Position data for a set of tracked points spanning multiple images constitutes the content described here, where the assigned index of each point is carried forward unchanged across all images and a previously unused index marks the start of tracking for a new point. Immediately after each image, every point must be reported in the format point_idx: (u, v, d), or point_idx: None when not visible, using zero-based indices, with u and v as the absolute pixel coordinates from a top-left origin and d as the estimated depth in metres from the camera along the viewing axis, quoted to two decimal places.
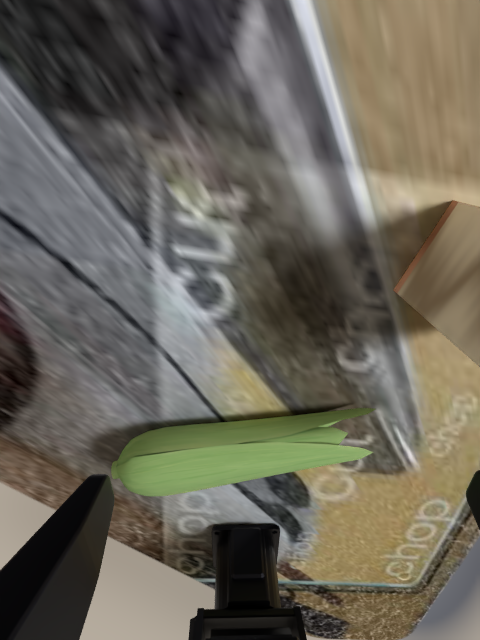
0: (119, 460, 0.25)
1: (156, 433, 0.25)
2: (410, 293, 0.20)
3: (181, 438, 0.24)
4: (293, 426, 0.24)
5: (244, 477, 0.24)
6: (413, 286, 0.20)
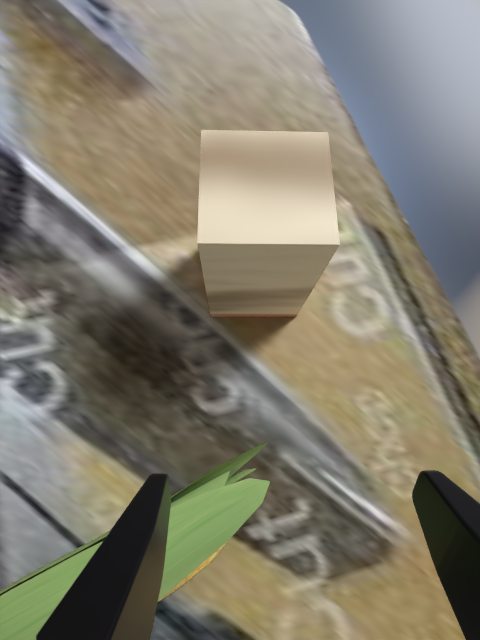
0: None
1: None
2: None
3: None
4: None
5: None
6: None
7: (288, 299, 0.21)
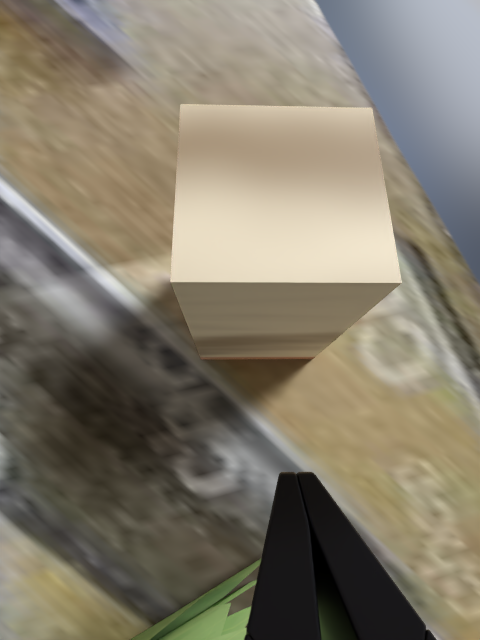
0: None
1: None
2: None
3: None
4: (140, 639, 0.13)
5: None
6: None
7: (306, 344, 0.15)
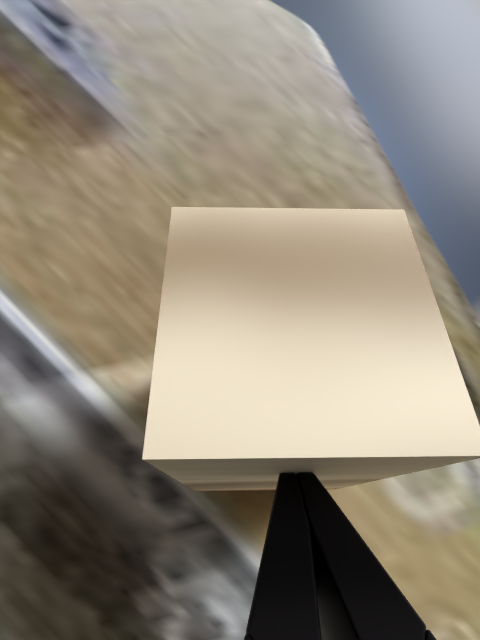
0: None
1: None
2: None
3: None
4: None
5: None
6: None
7: (330, 483, 0.12)
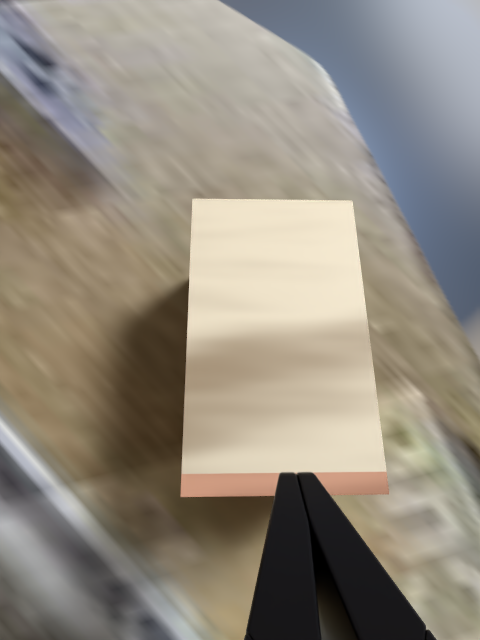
0: None
1: None
2: None
3: None
4: None
5: None
6: None
7: (341, 376, 0.11)
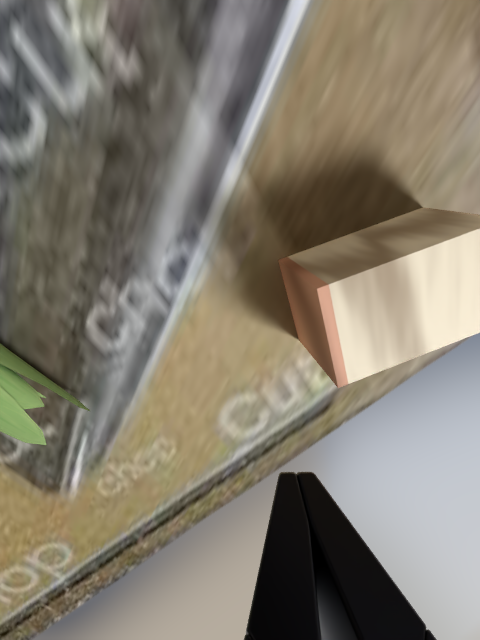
0: None
1: None
2: (345, 273, 0.17)
3: None
4: None
5: None
6: (338, 272, 0.17)
7: (392, 349, 0.18)
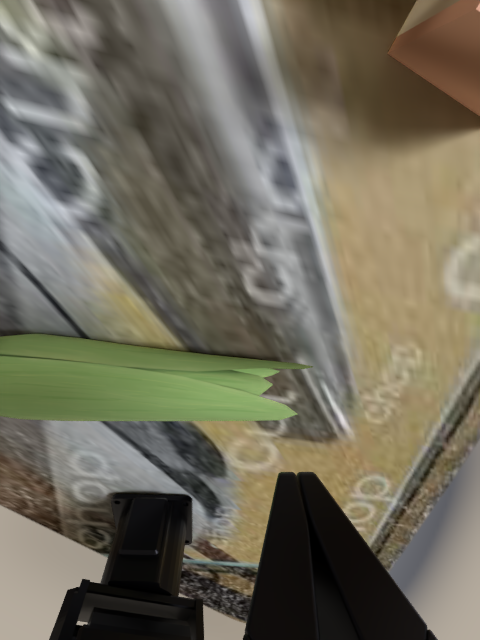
0: None
1: (27, 335, 0.19)
2: None
3: (57, 346, 0.18)
4: (208, 363, 0.19)
5: (130, 413, 0.18)
6: None
7: None
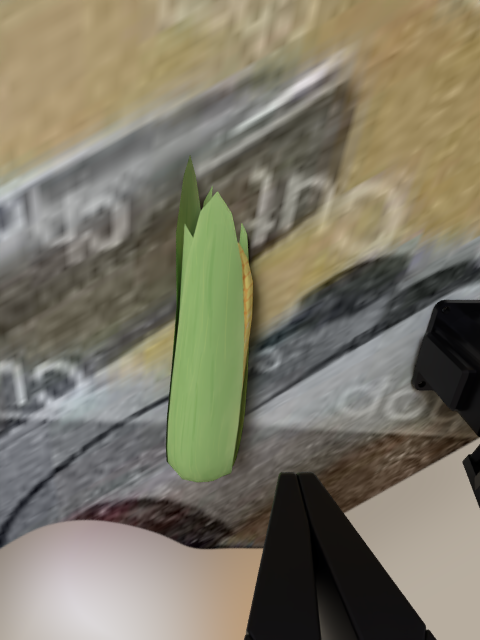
0: None
1: None
2: None
3: (168, 412, 0.21)
4: (177, 290, 0.18)
5: (217, 376, 0.18)
6: None
7: None
